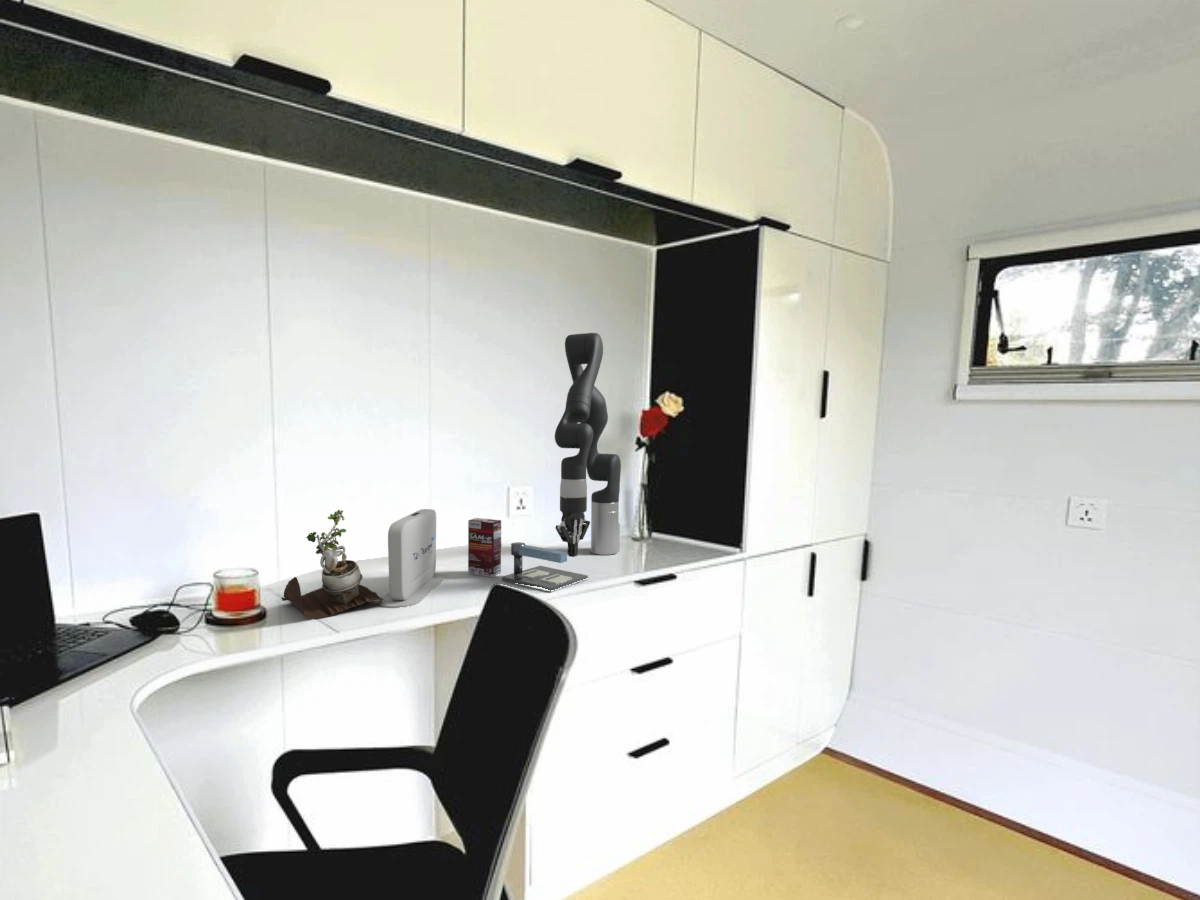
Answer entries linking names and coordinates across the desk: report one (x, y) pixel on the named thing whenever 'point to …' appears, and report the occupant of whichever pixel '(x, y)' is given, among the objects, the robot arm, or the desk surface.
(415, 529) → the wireless router
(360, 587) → the potted plant
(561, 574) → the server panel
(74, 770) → the desk surface
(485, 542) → the supplement box
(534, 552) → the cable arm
